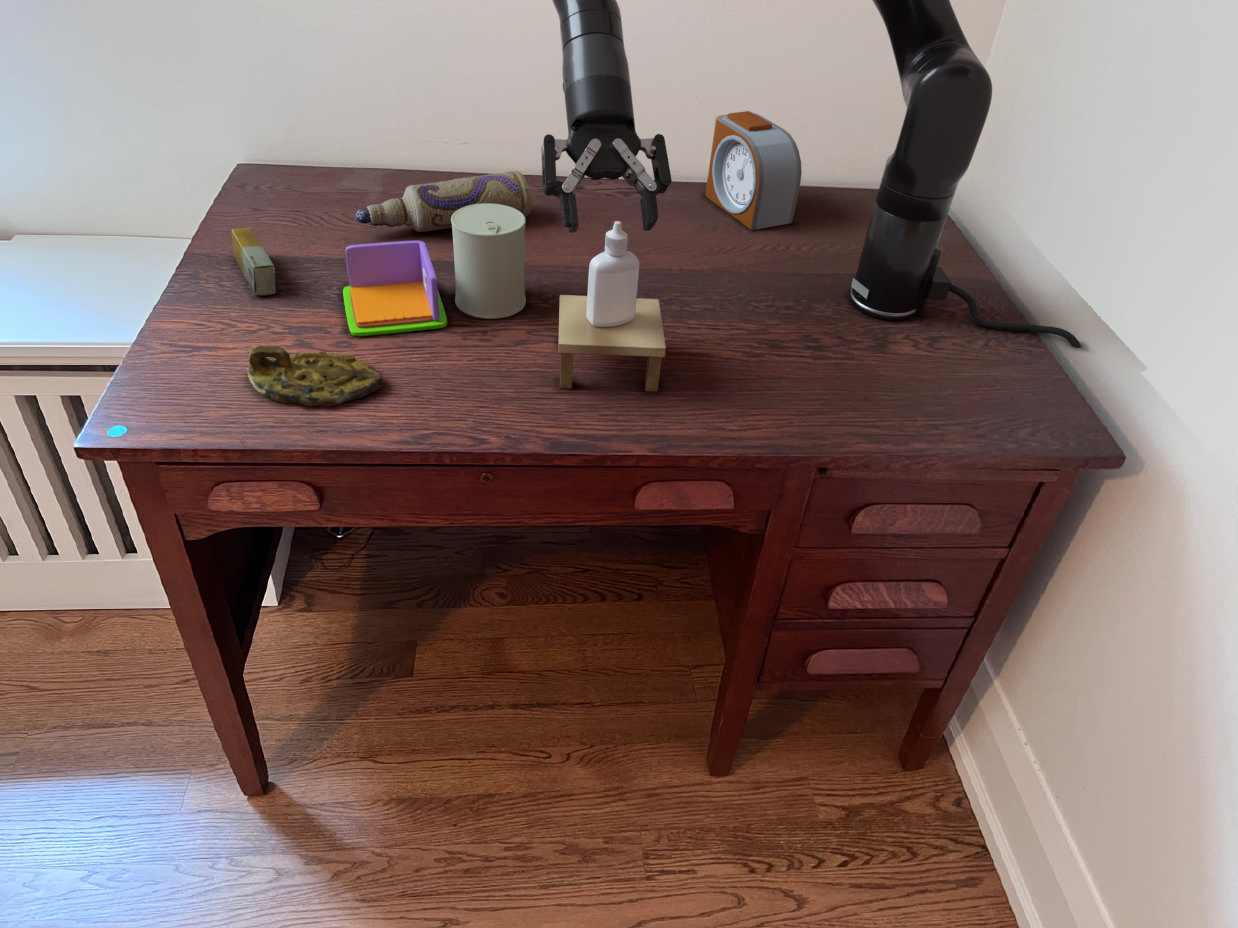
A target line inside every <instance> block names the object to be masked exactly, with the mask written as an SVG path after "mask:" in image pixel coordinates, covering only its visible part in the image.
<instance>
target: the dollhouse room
mask: <svg viewBox="0 0 1238 928" xmlns="http://www.w3.org/2000/svg"><path fill="white" fill-rule="evenodd" d="M344 252H345V260H346V268H347V269H346V270H347V276H348V277H347V278H348V281H349V285H347V286H345V287H344V288H343V289H342V296H343V305H344V311H345V316H346V322H347V326H348V330H349V333H350V335H351V336H353V337H368V336H369V337H370V336H379V335H390V334H401V333H410V332H419V331H427V330H437V329H442V328H443V329H444V328H445V327H447V326H448V318H447V315H446V311H445V307H444V304H443V302H442V298H441V295H440V293H439V289H438V277H437V275H436V271H435V268H434V265H433V262H432V259H431V256H430V253H429V250H428V248H427V244H426V242H425V241H422V240H403V241H388V242H387V241H385V242H374V243H360V244H354V245H353V244H351V245H348V246H346V247H345V251H344Z"/></svg>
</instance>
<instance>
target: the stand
mask: <svg viewBox="0 0 1238 928" xmlns="http://www.w3.org/2000/svg"><path fill="white" fill-rule="evenodd" d="M558 306H559V309H558V310H559V311H558V343H557V344H558V347H557V349H558V351H557V352H558V353H559V354H560V363H559V365H560V366H559V370H560V371H559V389H572V388H573V374H574V373H573V370H574V354H581V355H582V354H583V355H603V356H604V355H605V356H628V357H629V356H630V357H632V356H633V357H647V364H646V371H645V381H644V387H645V389H644V390H645V392H656V393H657V392H658V390H659V382H660V374H661V367H662V358H665V357H666V352H667V351H666V350H667V346H666V340H665V339H666V338H665V333H664V326H663V319H662V312H661V305H660V299H659V298H642V297H641V298H640V297H639V298H638V297H637V300H636V311H635V317H634V319H633V320H631V321H630V322H628V323H625V324H622V325H619V326H613V327H595V326H593V325H592V324H591V323H590V322H589V320H588V319H587V317H586V311H587V295H573V294H572V295H570V294H559V305H558Z"/></svg>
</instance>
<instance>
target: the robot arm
mask: <svg viewBox="0 0 1238 928" xmlns="http://www.w3.org/2000/svg"><path fill="white" fill-rule="evenodd" d="M551 1H552V4H553V6H554V8H555V11H556V13H557V16H558V19H559V31H560V42H561V52H562V67H561V69H562V70H561V72H562V92H563V93H564V102H565V105H564V106H565V113H566V124H567V132H568V137H567V139H561V138H555V136H554V135H553V134H551V133H550V134H549V133H548V134H545V136H544V137H543V140H542V144H541V149H540V151H541V152H540V153H541V154H540V155H541V177H542V178H541V179H542V180H541V181H542V193H543V194H544V195H545V196H546V197H547V196H548V197H550V196H553V197H556V198H558V199H559V201H560V208H561V218H562V219H561V221H562V224H563V226H564V228H568V232H569V233H571V234H572V233H573V234H574V233H577V231H578V229H579V217H578V207H577V197H576V193H574V192H575V191H576V189H577V188H578V187H579V186H580V184H581V182H582V181H583V180H584V178H585V177H587V178H589V179H590V180H591V181H599V180H602V179H606V180H607V179H608V180H613V181H614V180H619V179H620V178H623V180H624V181H625V182H626V183H627V184H628V185H629V186H630V187H633V188H634V189H635V191H637V193H638V194H639V195H640V196H641V198H640V211H641V221H642V229H643V231H644V232H645V231H647V232H648V231H651V230H652V229H653V227H654V226H655V225H656V223H657V222H658V218H659V211H658V201H657V195H659V194H660V195H662V194H665V193H666V192H667V190H668V188H669V186H671V184H672V181H673V180H672V174H671V168H670V163H669V162H670V161H669V157H668V149H667V144H666V139H665V136H664V135H663V134H661V133H657V134H655V136H654V137H652V138H651V137H650V138H649V137H648V138H640V137H639V135H638V133H637V131H636V123H635V114H634V104H633V96H632V95H633V94H632V87H631V85H632V83H631V76H630V68H629V62H628V58H627V54H626V49H625V42H624V32H623V22H622V14H621V9H620V6H619V4H618V1H617V0H551ZM871 1H872V2H873V4H874V6H875V8H876V9H877V11H878V13H879V15H880V17H881V19H882V21H883V24H884V26H885V28H886V32H887V35H888V39H889V41H890V45H891V49H892V53H893V56H894V60H895V64H896V68H897V72H898V73H897V74H898V76H899V81H900V82H899V83H900V87H901V92H902V97H903V101H904V102H903V103H904V105H905V106H906V111H905V115H904V118H903V121H902V125H901V129H900V132H899V135H898V139H897V142H896V144H895V145H896V146H895V149H894V151H893V153H891V154H889V156H888V157H887V159H886V162H885V164H884V168H883V173H882V177H881V180H880V183H879V188H878V191H877V193H876V198H875V203H874V206H873V209H872V213H871V217H870V221H869V224H868V227H867V232H866V235H865V240H864V242H863V246H862V251H861V254H860V257H859V262H858V265H857V269H856V273H855V276H854V277H853V278H852V281H851V284H850V287H851V288H850V291H849V297H848V299H849V301H850V303H851V304H852V306H853V307H854V308H856V309H857V310H858V311H860V312H861V313H863V314H865V315H868V316H870V317H873V318H876V319H881V320H887V321H902V320H907V319H910V318H913V317H914V316H917V317H918V316H919V317H921V316H922V315H923V311H924V308H925V306H926V302H927V300H928V301H929V300H930V301H946V300H947V297H948V295H949V292H950V293H952V294H954V295H956V296H958V297H959V298H960V299H962V300H963V301H964V302H965V303H966V304H967V306H968V309H969V313H970V317H971V319H972V321H973V322H974V323H976V324H977V325H979V326H980V327H983V328H987V329H998V330H1005V331H1006V330H1007V331H1023V332H1024V331H1025V332H1031V333H1039V334H1047V335H1049V334H1050V335H1055V336H1059V337H1061V338H1064V339H1065V340H1066V341H1067V342H1068V343H1069V344H1070V346H1072V347H1073V348H1076V349H1081V348H1082V346H1081V343H1080V341H1079V340H1078V338H1077V337H1076V336H1075V335H1074V334H1073V333H1071V332H1070V331H1068V330H1066V329H1064V328H1060V327H1055V326H1049V325H1048V326H1047V325H1038V324H1031V323H1022V322H1008V321H1007V322H1005V321H995V320H988V319H985V318H983V317H982V316H981V315H980V314H979V310H978V305H977V302H976V301H975V299H974V298H973V297H972V295H970V294H969V293H968V292H967V291H965V290H964V289H962V288H961V287H958V286H956V285H954V284H952V280H950V278H949V277H948V275H947V273H946V272H945V271H944V269H943V268H942V266H939V263H940V260H941V257H942V250H941V248H940V247H939V243H940V240H941V237H942V234H943V230H944V228H945V225H946V223H947V219H948V215H949V212H950V209H951V206H952V203H953V200H954V197H955V194H956V192H957V189H958V186H959V183H960V181H961V179H962V178H963V177H964V176H965V174H966V173H967V171H968V170H969V167H970V165H971V163H972V159H973V157H974V154H975V152H976V148H977V146H978V143H979V140H980V138H981V135H982V132H983V130H984V128H985V124H986V121H987V118H988V115H989V111H990V108H991V103H992V99H993V82H992V78H991V76H990V74H989V72H988V69H986V67H985V66H984V64H983V63H982V62H981V61H980V59H979V58H978V55H976V54H975V51H974V50H973V49H972V47H971V45H970V44H969V42H968V40H967V38H966V36H965V34H964V31H963V28H962V27H961V25H960V22H959V20H958V18H957V15H956V13H955V10H954V8H953V6H952V3H951V0H871ZM640 151H641V152H643V153H644V155H645V157H646V159H648V160H650V161H651V167H652V173H653V178H654V179H653V178H652V177H651V176H650V175H649V174H648V172H647V171H646V168H645V165H643V163H642V162H641V161H640V160H639V159H638V158H637V156H638V154H639V152H640ZM563 152H566V154H567V156H568V157H569V158H570V159H571V160H572V162H573V163H574V164H575V165H574V166H573V167H572V169H571V171H570V173H569V174H568V176H567V178H566V179H565V180H564V182H563V181H561V180H558V179H557V165H556V163H557V161H559V160H560V159H561V156H562V153H563Z"/></svg>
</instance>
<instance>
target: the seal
mask: <svg viewBox="0 0 1238 928" xmlns="http://www.w3.org/2000/svg"><path fill="white" fill-rule="evenodd" d="M270 358H272V359H270ZM248 364H249V365H247V369H246V370H247V371H246V372H247V373H246V374H247V377H248V380H249V383H250V385H251V386H252V387H253V389H254V390H255V391H256V392H257V393H259V394H260V395H261V396H263V397H265V398H266V399H269V400H271V401H273V402H279V403H282V404H300V405H305V406H308V407H315V406H328V407H329V406H337V405H341V404H343V403H347V402H348V401H349V402H350V401H353V400H356V399H359V398H362V397H366V396H367V395H369V394H371V393H375V392H376V391H378V390H379V389H380V388H381V387H382V386H383V384H384V379H383V377H382V375H381V374H380V373H379V372H378V371H376V369H374V368H373V366H371V365H369V364H368V363H367V362H365V361H363V360H361V359H360V358H357V357H355V356H353V355H349V354H348V355H346V354H338V353H332V352H326V351H319V352H300V351H298V352H296V353H292V354H289V353H288V352H287V350H285V349H284V348H283V347H281V346H278V345H256V346H253V347H252V348H250V351H249V354H248Z"/></svg>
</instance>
